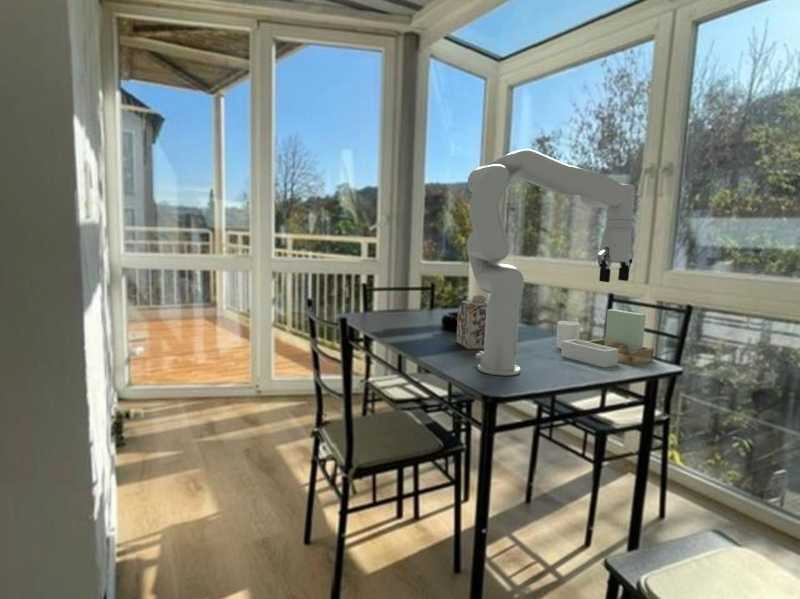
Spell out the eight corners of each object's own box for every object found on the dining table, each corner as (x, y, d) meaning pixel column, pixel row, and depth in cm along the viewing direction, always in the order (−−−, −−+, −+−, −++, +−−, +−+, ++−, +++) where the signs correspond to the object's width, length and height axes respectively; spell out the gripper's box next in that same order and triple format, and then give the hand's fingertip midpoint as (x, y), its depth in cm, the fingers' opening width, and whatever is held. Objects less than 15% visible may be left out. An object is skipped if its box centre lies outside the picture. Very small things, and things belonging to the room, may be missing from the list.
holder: (560, 358, 177) (562, 341, 176) (573, 356, 181) (575, 339, 180) (604, 370, 164) (605, 351, 163) (617, 367, 168) (618, 348, 167)
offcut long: (600, 354, 181) (600, 347, 181) (605, 353, 183) (606, 346, 183) (621, 359, 175) (622, 352, 175) (627, 358, 177) (627, 351, 176)
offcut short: (607, 348, 179) (608, 342, 179) (612, 347, 181) (613, 341, 180) (621, 351, 175) (621, 345, 175) (626, 350, 177) (626, 344, 176)
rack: (582, 355, 182) (583, 341, 182) (603, 352, 189) (604, 338, 189) (632, 368, 168) (633, 352, 167) (652, 363, 175) (653, 348, 174)
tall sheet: (603, 352, 184) (607, 309, 182) (608, 351, 186) (612, 309, 184) (636, 360, 175) (641, 315, 172) (641, 359, 176) (646, 314, 174)
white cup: (583, 352, 187) (585, 324, 186) (563, 353, 185) (566, 325, 184) (569, 347, 195) (571, 320, 193) (550, 348, 192) (552, 321, 191)
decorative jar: (485, 341, 200) (487, 293, 197) (498, 348, 188) (501, 298, 186) (455, 342, 196) (457, 293, 194) (467, 349, 185) (469, 298, 183)
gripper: (624, 225, 171) (619, 278, 174) (590, 224, 162) (586, 280, 164) (646, 226, 165) (641, 281, 168) (612, 225, 155) (607, 283, 158)
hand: (613, 281), depth 166 cm, fingers open, 9 cm apart
